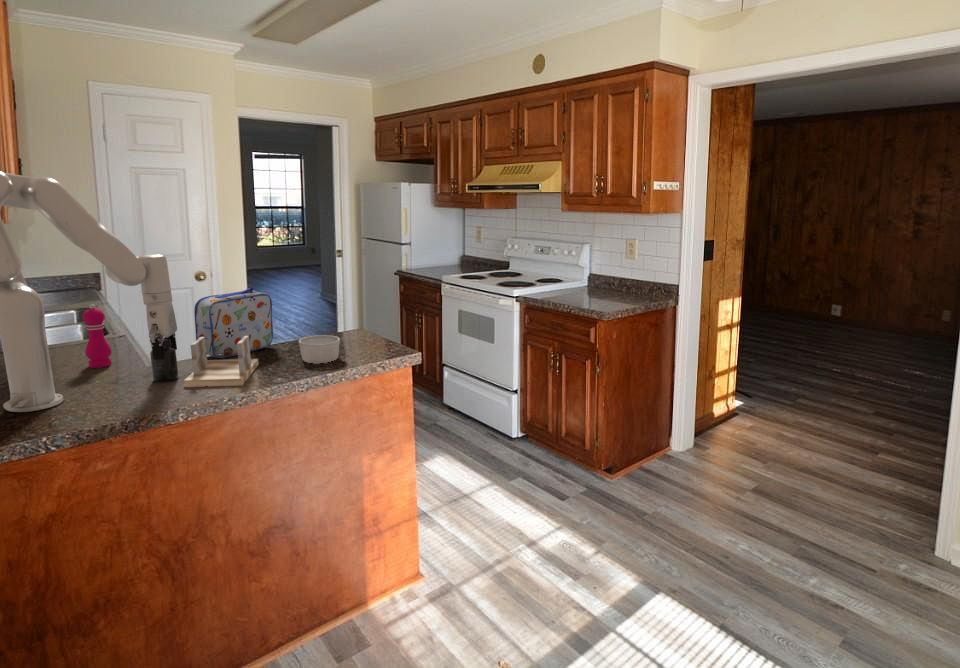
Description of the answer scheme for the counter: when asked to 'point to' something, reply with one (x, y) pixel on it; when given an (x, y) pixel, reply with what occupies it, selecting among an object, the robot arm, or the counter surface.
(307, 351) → the ramekin
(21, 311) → the robot arm
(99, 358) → the pepper mill
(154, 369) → the supplement bottle
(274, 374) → the counter surface
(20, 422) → the counter surface
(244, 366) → the wooden stand
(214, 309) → the lunch box
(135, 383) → the counter surface
